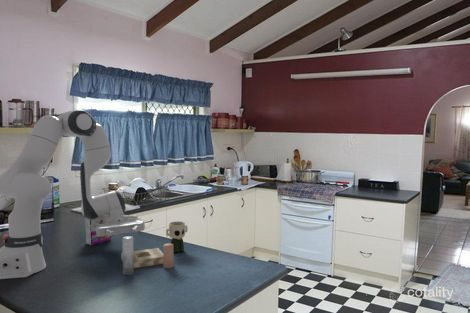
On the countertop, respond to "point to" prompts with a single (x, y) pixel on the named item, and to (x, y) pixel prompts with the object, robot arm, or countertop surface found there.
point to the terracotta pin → (168, 255)
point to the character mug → (177, 235)
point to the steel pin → (128, 255)
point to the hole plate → (146, 257)
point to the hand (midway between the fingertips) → (123, 232)
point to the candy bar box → (91, 233)
